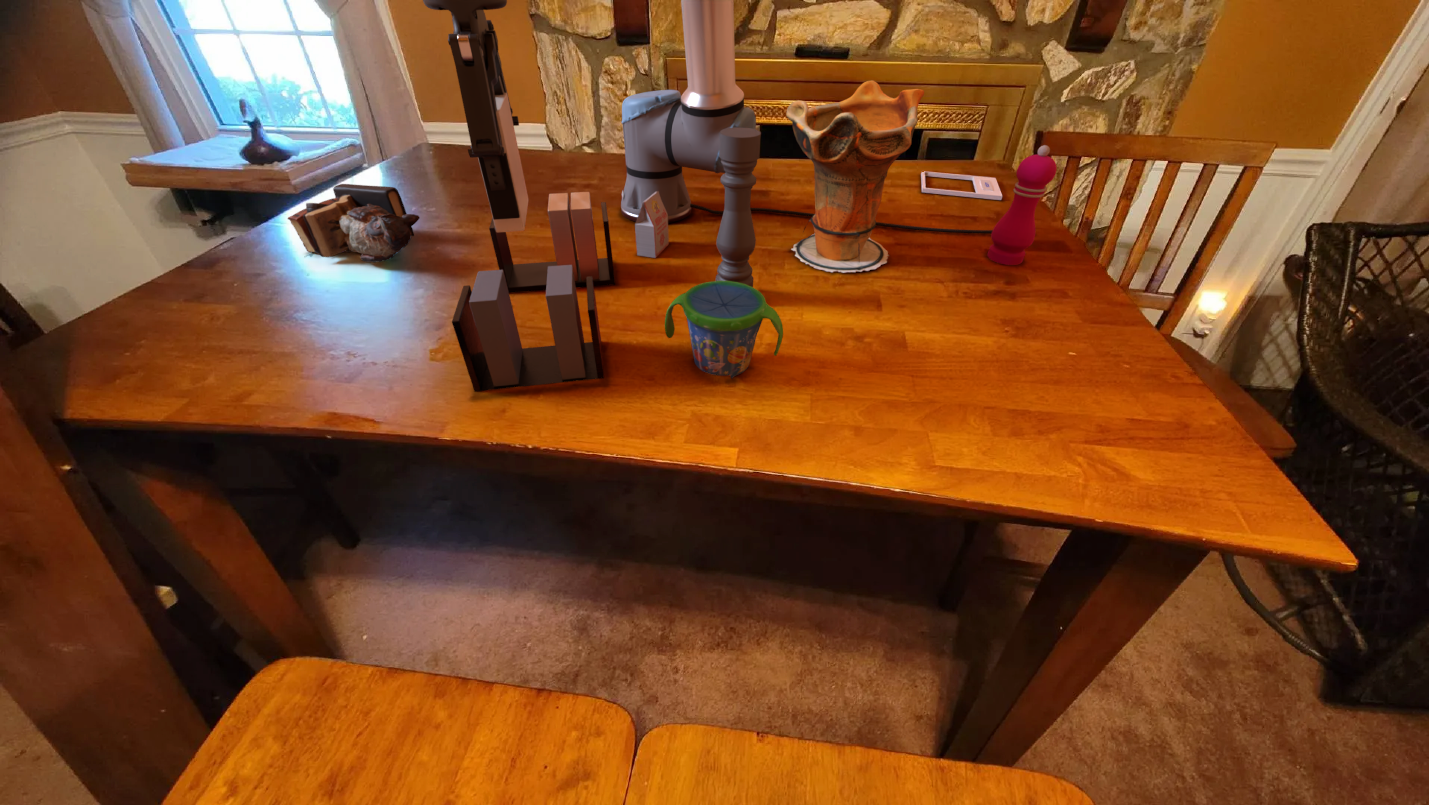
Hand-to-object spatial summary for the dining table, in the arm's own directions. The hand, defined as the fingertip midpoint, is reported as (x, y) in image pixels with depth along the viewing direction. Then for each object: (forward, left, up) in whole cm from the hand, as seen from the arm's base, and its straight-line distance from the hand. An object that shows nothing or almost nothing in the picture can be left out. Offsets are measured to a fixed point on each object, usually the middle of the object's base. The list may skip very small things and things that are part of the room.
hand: (510, 200), depth 64 cm
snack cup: (-24, +8, -21) cm, 33 cm away
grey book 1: (+4, +5, -20) cm, 21 cm away
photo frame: (-98, -57, -21) cm, 116 cm away
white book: (0, 0, -2) cm, 2 cm away
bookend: (+31, -39, -21) cm, 54 cm away
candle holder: (-30, -11, -21) cm, 39 cm away
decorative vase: (-53, -24, -21) cm, 62 cm away
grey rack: (0, +5, -21) cm, 22 cm away
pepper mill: (-84, -17, -21) cm, 89 cm away
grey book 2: (-4, +5, -20) cm, 21 cm away
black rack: (-2, -23, -21) cm, 32 cm away
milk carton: (-19, -32, -21) cm, 43 cm away
